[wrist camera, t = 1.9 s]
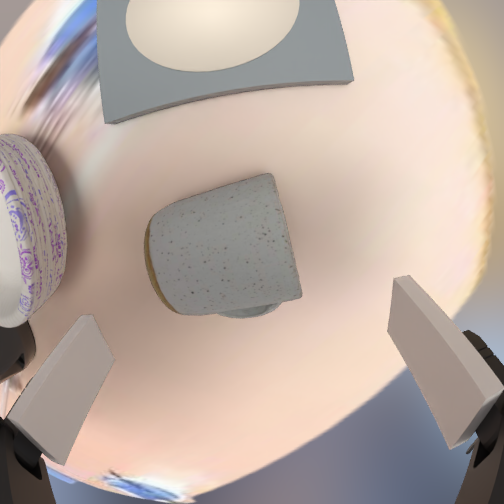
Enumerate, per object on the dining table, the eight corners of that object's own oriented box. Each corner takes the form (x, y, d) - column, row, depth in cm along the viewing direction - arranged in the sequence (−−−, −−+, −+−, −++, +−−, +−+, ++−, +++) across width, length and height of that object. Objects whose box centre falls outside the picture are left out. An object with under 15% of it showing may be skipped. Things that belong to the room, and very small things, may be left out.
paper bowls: (-26, 184, 18) (-75, 204, 10) (51, 97, 16) (-15, 93, 8) (27, 302, 23) (-12, 342, 16) (118, 255, 21) (69, 306, 14)
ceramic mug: (160, 200, 20) (116, 237, 12) (269, 165, 19) (282, 182, 12) (209, 317, 24) (197, 385, 16) (303, 293, 23) (323, 358, 16)
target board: (114, 124, 17) (103, 123, 16) (105, -21, 12) (97, -28, 10) (346, 84, 16) (355, 79, 15) (305, -59, 11) (308, -69, 9)
